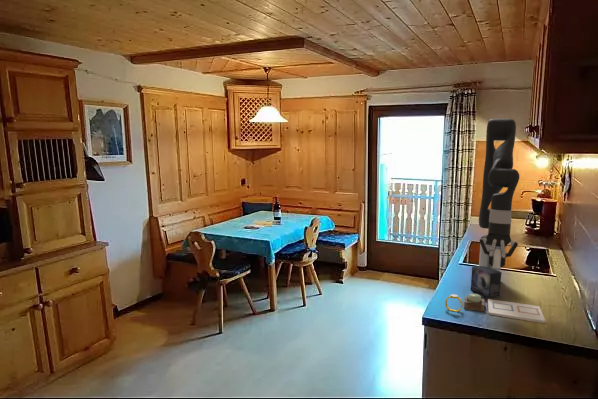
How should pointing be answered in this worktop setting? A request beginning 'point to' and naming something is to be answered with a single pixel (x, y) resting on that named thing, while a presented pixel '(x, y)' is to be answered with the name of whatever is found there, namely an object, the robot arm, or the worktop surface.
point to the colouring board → (515, 310)
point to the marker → (497, 258)
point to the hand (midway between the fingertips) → (496, 266)
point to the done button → (474, 298)
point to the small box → (486, 281)
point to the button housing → (474, 305)
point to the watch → (453, 297)
